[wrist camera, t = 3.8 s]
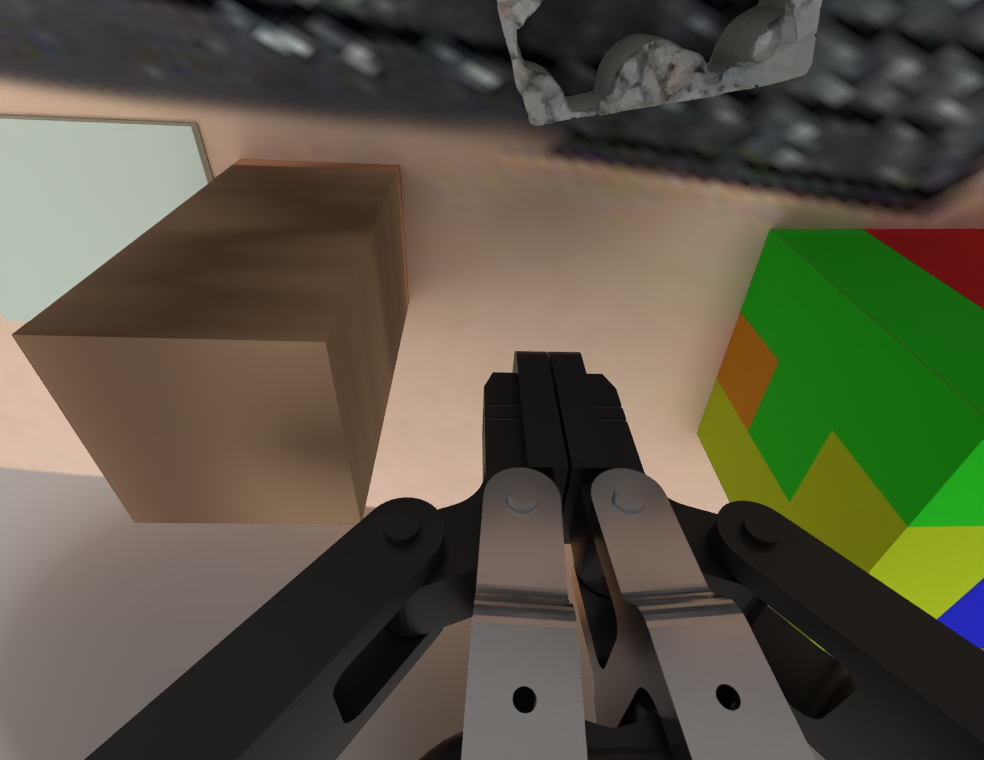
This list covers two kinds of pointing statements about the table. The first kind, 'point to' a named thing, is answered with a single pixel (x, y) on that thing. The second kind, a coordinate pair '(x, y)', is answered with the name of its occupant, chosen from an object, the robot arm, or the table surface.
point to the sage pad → (84, 197)
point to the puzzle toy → (865, 405)
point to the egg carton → (671, 62)
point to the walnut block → (239, 347)
